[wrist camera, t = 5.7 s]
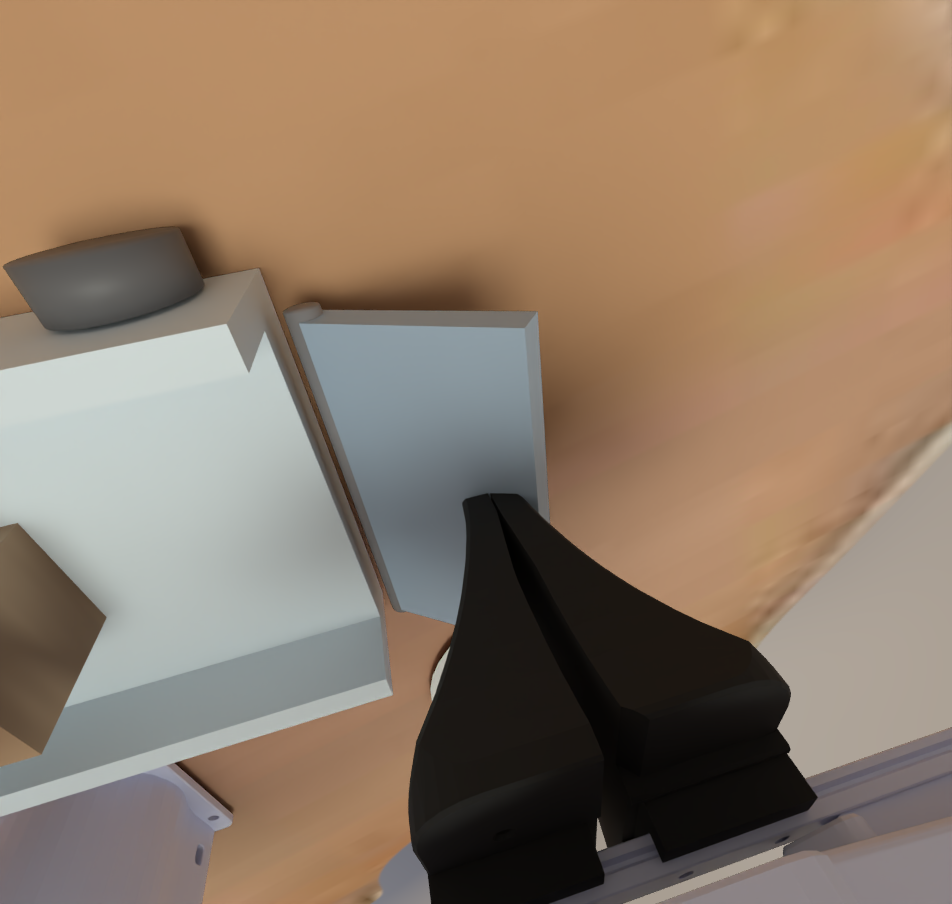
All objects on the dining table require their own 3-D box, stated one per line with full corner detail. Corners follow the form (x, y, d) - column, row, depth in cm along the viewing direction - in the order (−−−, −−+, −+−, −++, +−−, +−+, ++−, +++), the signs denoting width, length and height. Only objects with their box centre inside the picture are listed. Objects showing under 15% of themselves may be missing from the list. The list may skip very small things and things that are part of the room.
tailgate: (304, 298, 12) (274, 315, 11) (539, 298, 10) (523, 317, 9) (402, 585, 19) (387, 609, 18) (558, 626, 16) (549, 654, 16)
